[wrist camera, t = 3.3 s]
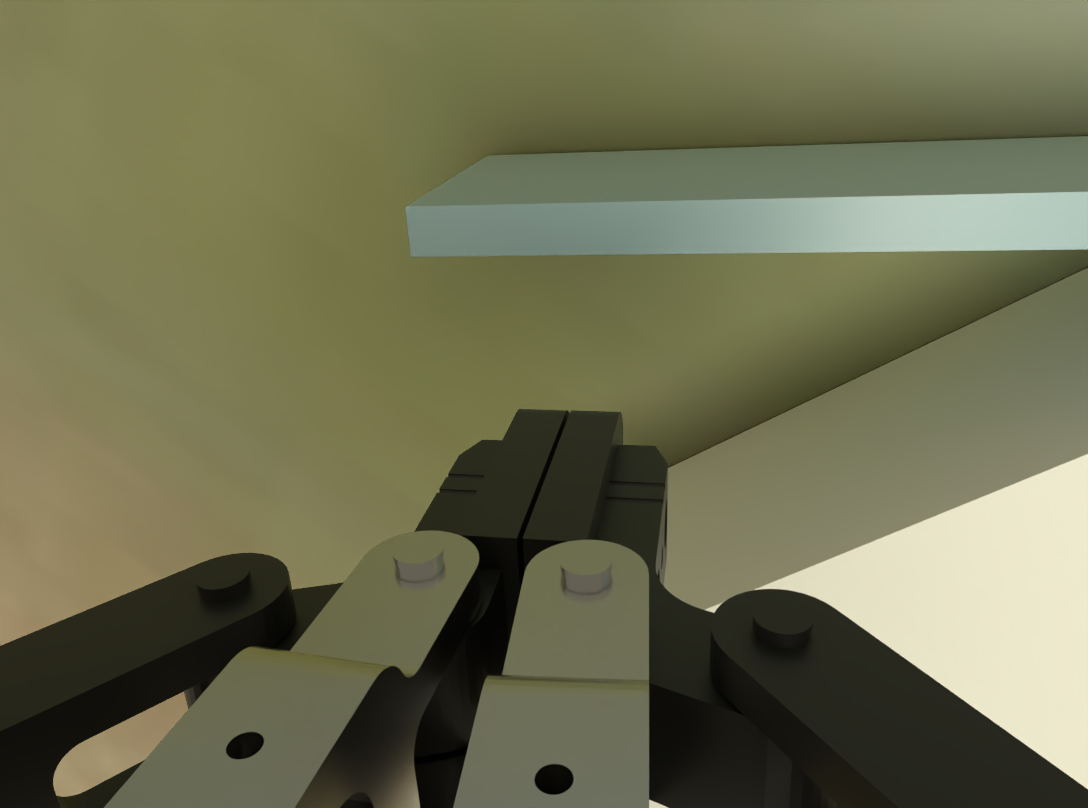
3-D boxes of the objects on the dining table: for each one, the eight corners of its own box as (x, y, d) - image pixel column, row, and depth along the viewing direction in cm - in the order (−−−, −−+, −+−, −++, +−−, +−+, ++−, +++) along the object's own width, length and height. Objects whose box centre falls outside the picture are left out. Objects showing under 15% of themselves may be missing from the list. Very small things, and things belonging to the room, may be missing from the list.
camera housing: (671, 740, 31) (656, 985, 24) (527, 535, 29) (456, 731, 21) (1378, 489, 24) (1709, 727, 16) (1259, 185, 22) (1577, 285, 14)
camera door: (491, 196, 24) (410, 263, 18) (488, 151, 24) (403, 202, 17) (1292, 177, 21) (1554, 251, 14) (1306, 124, 20) (1585, 175, 14)
